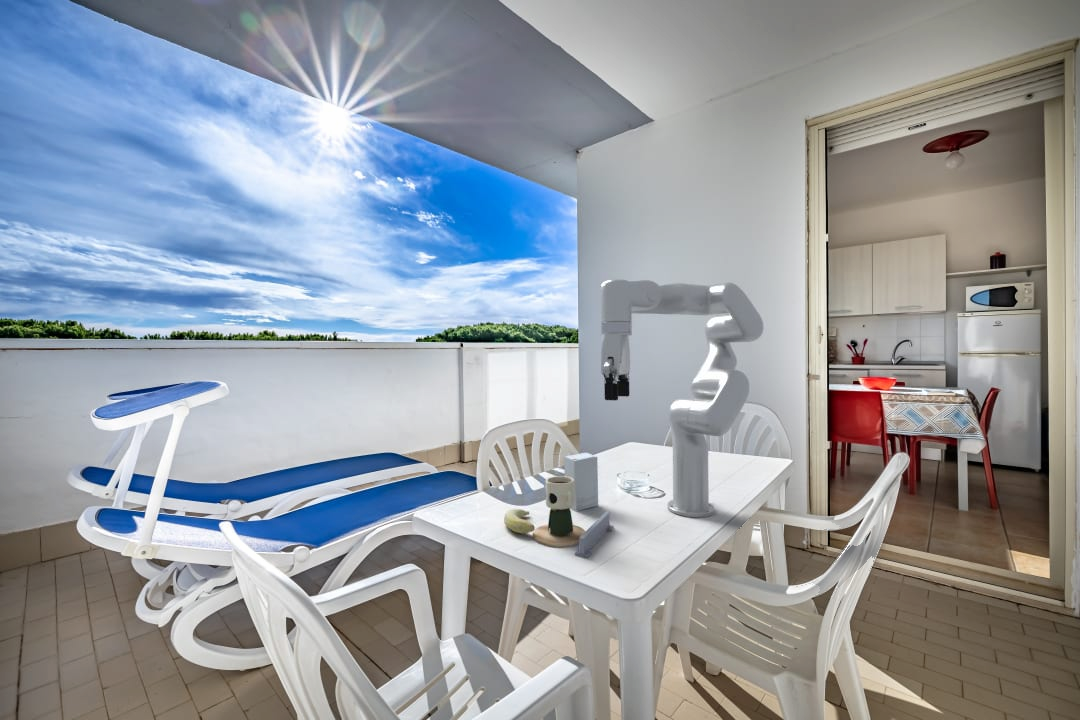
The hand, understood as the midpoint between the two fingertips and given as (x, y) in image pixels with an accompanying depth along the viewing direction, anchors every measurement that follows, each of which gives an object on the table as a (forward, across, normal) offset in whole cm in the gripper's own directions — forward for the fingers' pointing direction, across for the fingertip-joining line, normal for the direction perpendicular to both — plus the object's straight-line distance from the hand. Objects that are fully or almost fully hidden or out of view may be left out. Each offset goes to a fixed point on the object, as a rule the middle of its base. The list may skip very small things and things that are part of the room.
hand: (617, 398), depth 113 cm
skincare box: (+33, -12, -15) cm, 38 cm away
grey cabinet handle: (+33, +9, -3) cm, 34 cm away
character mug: (+33, +10, -12) cm, 36 cm away
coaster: (+33, +10, -12) cm, 37 cm away
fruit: (+33, +9, -23) cm, 41 cm away
